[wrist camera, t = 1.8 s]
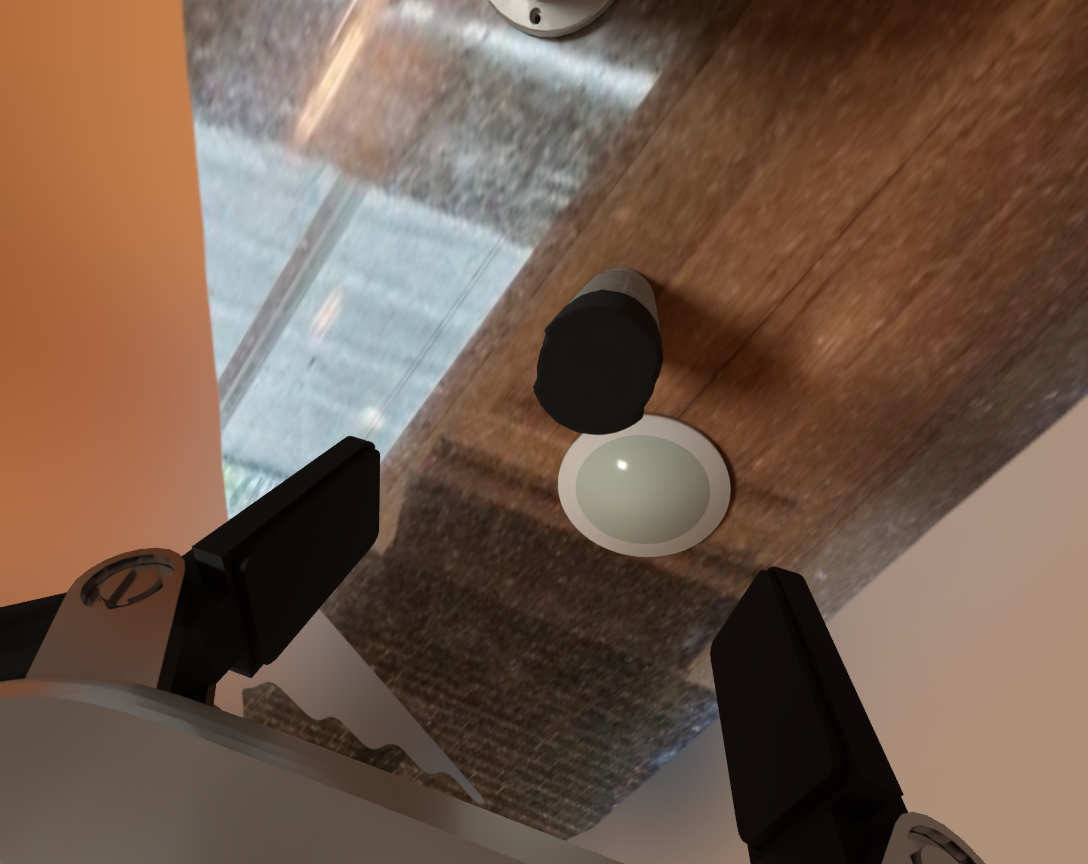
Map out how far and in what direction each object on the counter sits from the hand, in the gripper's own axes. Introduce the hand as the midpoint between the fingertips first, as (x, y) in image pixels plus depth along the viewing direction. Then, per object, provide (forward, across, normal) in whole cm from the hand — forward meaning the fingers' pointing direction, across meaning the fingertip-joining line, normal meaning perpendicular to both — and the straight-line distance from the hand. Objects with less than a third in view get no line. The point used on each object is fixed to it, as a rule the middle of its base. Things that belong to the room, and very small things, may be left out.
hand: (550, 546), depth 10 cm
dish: (+31, -8, +18) cm, 37 cm away
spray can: (+31, 0, 0) cm, 31 cm away
